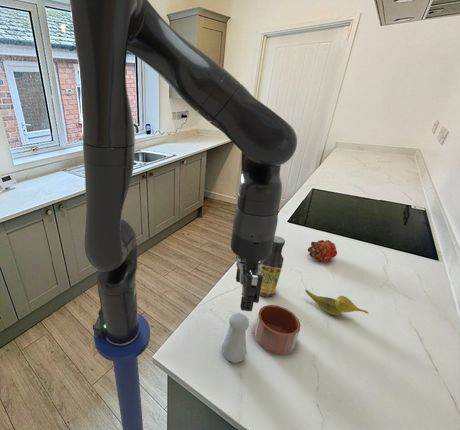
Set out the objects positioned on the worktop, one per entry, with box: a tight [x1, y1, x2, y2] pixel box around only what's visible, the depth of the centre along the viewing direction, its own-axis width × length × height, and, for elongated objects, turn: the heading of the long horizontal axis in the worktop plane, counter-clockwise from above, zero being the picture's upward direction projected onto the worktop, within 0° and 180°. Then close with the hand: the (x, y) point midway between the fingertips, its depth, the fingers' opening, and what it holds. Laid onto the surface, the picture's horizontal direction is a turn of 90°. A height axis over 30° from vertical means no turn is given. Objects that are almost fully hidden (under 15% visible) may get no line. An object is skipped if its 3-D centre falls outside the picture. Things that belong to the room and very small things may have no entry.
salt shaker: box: [221, 312, 250, 364], centre depth 62 cm, size 6×6×13 cm
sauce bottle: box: [259, 235, 286, 298], centre depth 80 cm, size 7×6×20 cm
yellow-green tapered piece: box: [304, 289, 370, 316], centre depth 75 cm, size 4×15×6 cm, turn 47°
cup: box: [254, 304, 302, 356], centre depth 68 cm, size 10×10×7 cm
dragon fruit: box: [307, 239, 338, 263], centre depth 97 cm, size 8×8×12 cm
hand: (243, 294), depth 56 cm, fingers open, 8 cm apart
